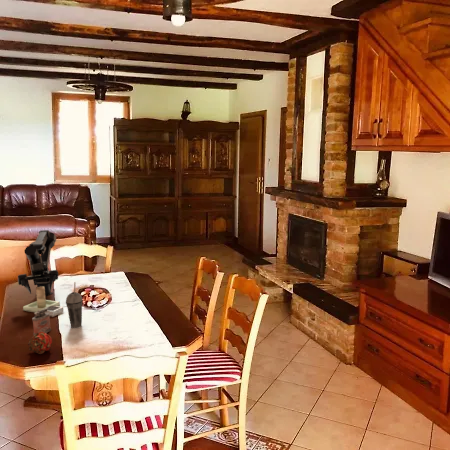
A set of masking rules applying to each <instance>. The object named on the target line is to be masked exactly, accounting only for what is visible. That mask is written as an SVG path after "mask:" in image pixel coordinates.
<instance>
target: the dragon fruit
mask: <svg viewBox="0 0 450 450" xmlns="http://www.w3.org/2000/svg"><path fill="white" fill-rule="evenodd" d="M52 339H53V338H52V336H50V335H49V334H47V333H45V332H39V333H38V334H35V335H34V334H33V335H32V336H31V338H30V339H29V340H28V341H29V342H28V343H27V346H29V348H28V350H29V351H32V352H34V353H36V354H37V355H38V354H40V355H43V354H44V353H45V352H47V351H48V352H49V351H50V350H51V349H52V346H51V345H52V343H53V340H52Z"/></svg>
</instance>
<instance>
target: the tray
mask: <svg viewBox="0 0 450 450" xmlns="http://www.w3.org/2000/svg"><path fill="white" fill-rule="evenodd" d="M52 305H53V306H59V307H61V303H60V301H55V300H50V299H46V307H44V308H38V306H37V300H36V301H33V302H31V303H29V304H26V305H24V306H23V307H22V308H23V309H22V310H23V311H24V312H25V311H26V312H29V313H30V312H31V313H36V312H37V311H38V310H40V311H41V310H43V309H45V308H48V307H50V306H52Z"/></svg>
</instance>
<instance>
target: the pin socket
mask: <svg viewBox="0 0 450 450" xmlns="http://www.w3.org/2000/svg"><path fill="white" fill-rule="evenodd" d="M45 309H47V310H48V311H47V312H45V313H49V314H50V316H49V317H52V318H54V317H55V316H58V315H60V314H62V313H65V312H64V307H63V306H53V305H52V306H50V307H48V308H45Z"/></svg>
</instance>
